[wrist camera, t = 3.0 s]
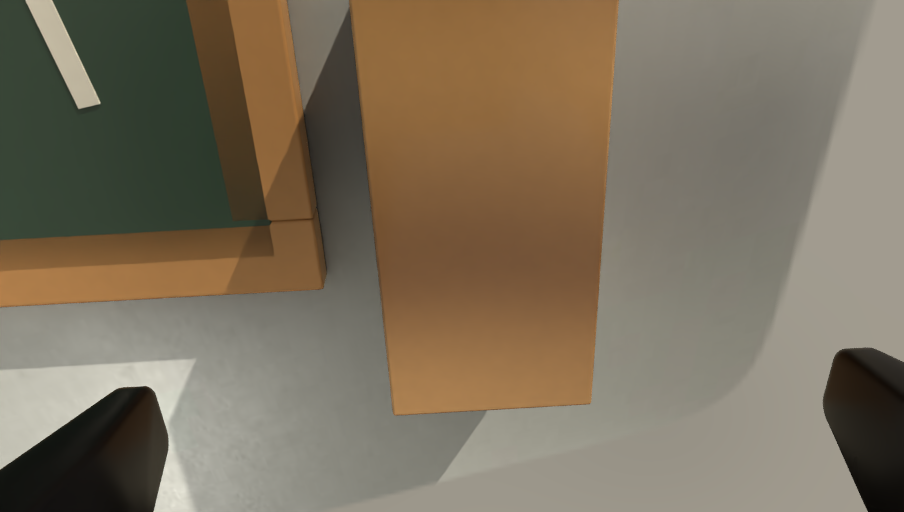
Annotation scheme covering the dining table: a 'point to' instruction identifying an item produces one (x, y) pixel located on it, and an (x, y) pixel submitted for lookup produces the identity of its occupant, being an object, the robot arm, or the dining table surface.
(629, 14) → the dining table surface
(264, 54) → the chalkboard
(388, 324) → the eraser
